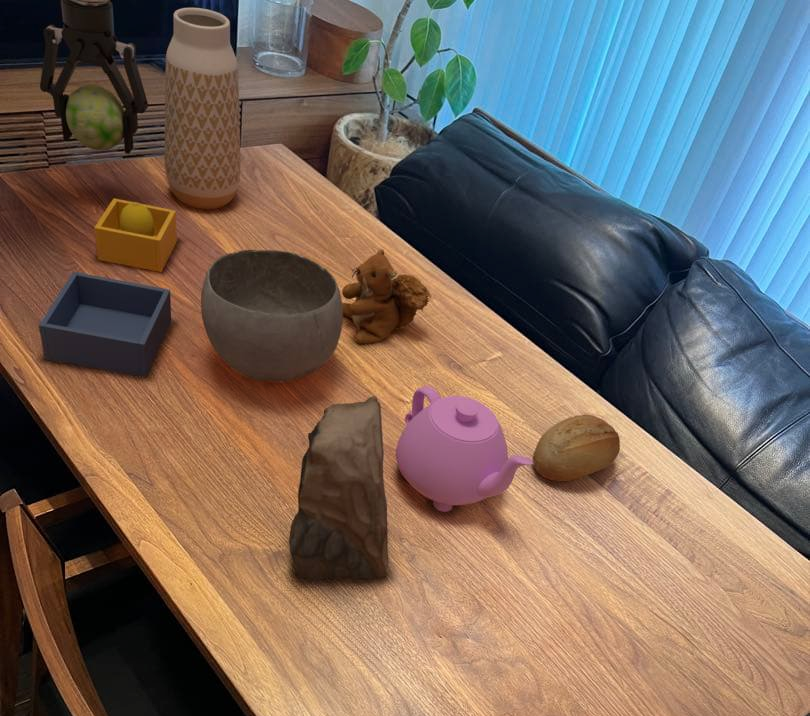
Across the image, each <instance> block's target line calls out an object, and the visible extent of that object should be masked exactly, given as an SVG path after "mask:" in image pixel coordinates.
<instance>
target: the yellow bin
mask: <svg viewBox="0 0 810 716" xmlns="http://www.w3.org/2000/svg"><path fill="white" fill-rule="evenodd" d="M134 202H135V201H129V200H126V199H125V200H124V199H119V198H115V197H114V198H113V199H112V200H111V201H110V203H109V205H108V206H107V208H106V209H105V211H104V212H103V214H102V215H101V216H100V218H99V220H98V221H97V222H96V224H95V226H94V229H93V230H94V237H95V247H96V254H97V261H102V262H108V263H112V264H117V265H123V266H127V267H128V266H129V267H134V268H137V269H144V270H148V271H154V272H159V273H162V272H163V270H164V268H165V267H166V264H167V263H168V260H169V258H170V256H171V254H172V253H173V250H174V248H175V246H176V245H177V242H178V237H177V236H178V233H177V211H176V210H174V209H170V208H166V207H165V208H164V207H160V206H154V205H150V204H145V203H140V202H138V203H139V204H142V205H144V206H145V207H146V208H147V209H148V210H149V211H150V213H151V215H152V218H153V221H154V235H153V237H152V236H147V235H142V234H137V233H132V232H127V231H121V229H120V215H121V212H122V210H123V208H124V207H125V206H127V205H128V204H130V203H134Z"/></svg>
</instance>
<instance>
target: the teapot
mask: <svg viewBox="0 0 810 716" xmlns="http://www.w3.org/2000/svg"><path fill="white" fill-rule="evenodd" d="M412 396H413V397H412V401H411V410H410V411H408V412H406V414H405V416H404V422H405V425H406V426H405V428H404V429H403V430H402V431H401V432H402V433H401V434H400V436H399V439H398V441H397V445H396V448H395V460H396V464H397V467H398V469H399V471H400V473H401V475H402V477H403V478H404V479H405V480H406V482H407V483H409V485H410V486H411V487H412V488H413V489H414V490H415V491H417V493H419V494H421V495H422V496H423V497H425V498H427V499H428V500H430V501H432V503H433V504H432V505H433V507H434V508H435V509H436V510H438V511H440V512H444V513H445V512H450V511H451V510H452V509H453V506H466V505H471V504H475V503H478V502H481V501H483V500H486V499H488V498H492V497H495V496H499V495H501V494H502V493H504V492H505V491H506V490H508V489H509V487H510V486H511V485H512V482H513V480H514V478H515V475H516V472H517V471H518V469H519V468H520V467H523V466H531V465H534V462H533V460H531V459H530V458H528V457H526V456H523V455H512V456H510V457H509V451H508V445H507V440H506V437H505V434H504V430H503V428H502V426H501V423H500V422H499V420H498V418H497V416H496V415H495V413H494V412H493V411H492V409H490V408H489V407H488V406H486V405H485V404H484V403H482V402H480V401H479V400H476V399H474V398H470V397H467V396H463V395H449V396H444V397H441V395H440V394H439V392H438V391H437V390H436V389H435V388H433V387H431V386H428V385H427V386H426V385H425V386H424V385H423V386H420V387H418V388H417V389H416V390H415V391H414V393H413V395H412ZM425 398H426V399H427V400H428V402H429V405H427V406H425ZM424 406H425V408H424Z"/></svg>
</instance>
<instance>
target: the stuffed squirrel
mask: <svg viewBox="0 0 810 716" xmlns="http://www.w3.org/2000/svg"><path fill="white" fill-rule="evenodd" d="M351 272H353V273H352V275H351V278H353V277H354V276H355V275H356V277H355V278H356V280H357V282H354V283H347V284H346V285H344V286H343V288H342V290H341V293H342V296H343V298H345V299H347V300H352V299H355V300H354V301H353V302H352V303H348V302H342V306H343V317H346V318H349V319H352V322H353V325H354V326H355V327H356V328H358V330H357V331H356V335H355V342H357V344H370V343H378V342H382V341H383V340H384V339H385V338H386V337H388V336H389V334H391V332H393V330H396V331H397V330H401V329H403V328H407V326H408V325H410V324H411V323H412V322H413V321H414V317H415V316H416V315H417V311H418V310H419V311H422V312H424V308H425V307H427V306H428V304H429V303H430V300H429V298H430V299H431V298H432V297H433V295H431V293H430V290H428V288H427V286H426V285H425V284H423V283H422V282H421V280H420V279H419V278H417V277H416V276H415V275H411V274H409V275H408V274H406V273H404V274H398V272H397V271H396V270H395V269H394V268H393V266H392V264H391V262H390V261H389V259H388V257H387V256H386V255H385V250H384V249H382V248H380V249H378V250H377V252H376V253H375V254H372V255H370V256H369V257H368V258H367V259H366V260H365V261H364V262H363V263H361V264H359V265H358V266H357V267H355V268H353V269H352V270H351Z"/></svg>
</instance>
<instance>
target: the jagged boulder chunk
mask: <svg viewBox="0 0 810 716" xmlns="http://www.w3.org/2000/svg"><path fill="white" fill-rule="evenodd" d="M381 410H382V406H381V403H380V402H379V401H378V398H377V396H375V395H373V396H370V397H369V398H367V399H366V400H364V401H356V402H350V403H349V402H348V403H345V402H344V403H335V404H331V405H329V406H327V407H326V408H325V409H323V415H322V417H321V419H320V420H318V421H317V422H316V425H315V426H314V427H313V429H312V431H311V432H308V433H307V439H308V448H307V450H306V452H305V453H304V455H303V457H302V461H301V463H302V464H301V469H300V477H299V479H300V480H299V483H298V484H299V485H298V490H297V491H298V492H297V502H298V503H297V504H298V510H297V513H295V515H294V517H293V520H291V521H292V522H291V525H290V530H289V540H288V544H289V553H290V557H291V559H292V562H293V564H294V566H295V573H294V574H295V576H296V577H297V578H299V579H305V580H317V579H324V578H325V579H327V580H329V581H331V580H335V579H353V580H357V581H362V580H363V581H365V580H369V579H379V578H381V579H382V578H386V577H387V572H386V570H387V568H388V566H389V550H388V549H389V548H388V546H389V545H388V544H389V542H388V540H389V539H388V538H389V537H388V536H389V535H388V533H389V532H388V504H387V503H388V502H387V497H386V491H385V481H384V454H385V452H384V438H383V437H384V435H383V425H382V423H383V421H382V419H383V418H382V411H381Z"/></svg>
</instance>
